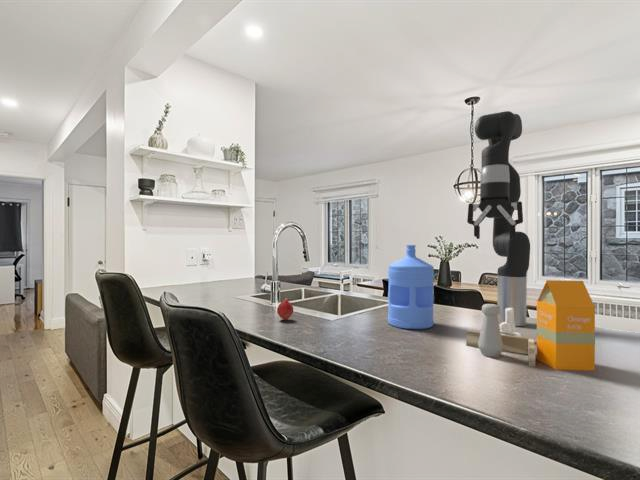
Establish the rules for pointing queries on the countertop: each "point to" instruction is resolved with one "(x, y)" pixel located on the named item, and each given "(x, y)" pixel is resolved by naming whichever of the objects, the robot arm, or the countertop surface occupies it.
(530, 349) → the beige l-shaped block
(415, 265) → the water jug
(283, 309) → the onion
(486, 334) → the salt shaker
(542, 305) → the orange juice
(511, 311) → the hook
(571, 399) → the countertop surface
